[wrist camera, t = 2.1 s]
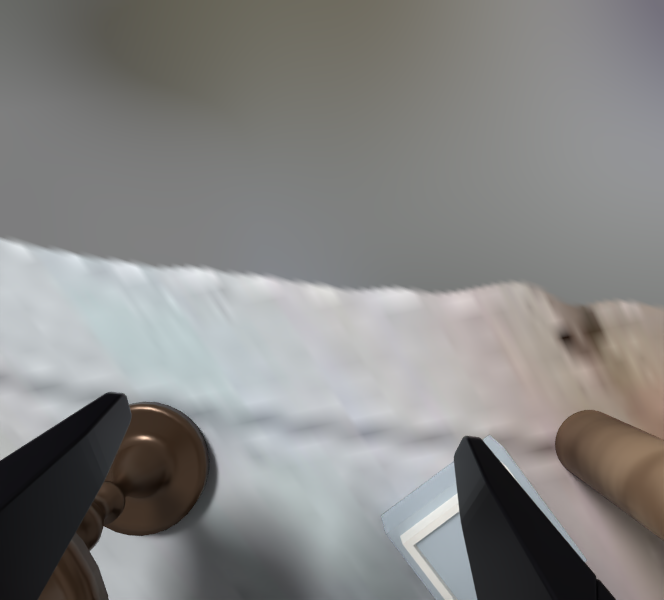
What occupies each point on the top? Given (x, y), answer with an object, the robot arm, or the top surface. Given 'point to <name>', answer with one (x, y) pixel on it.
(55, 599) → the candlestick
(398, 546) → the base plate
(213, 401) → the top surface
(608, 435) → the walnut pillar
